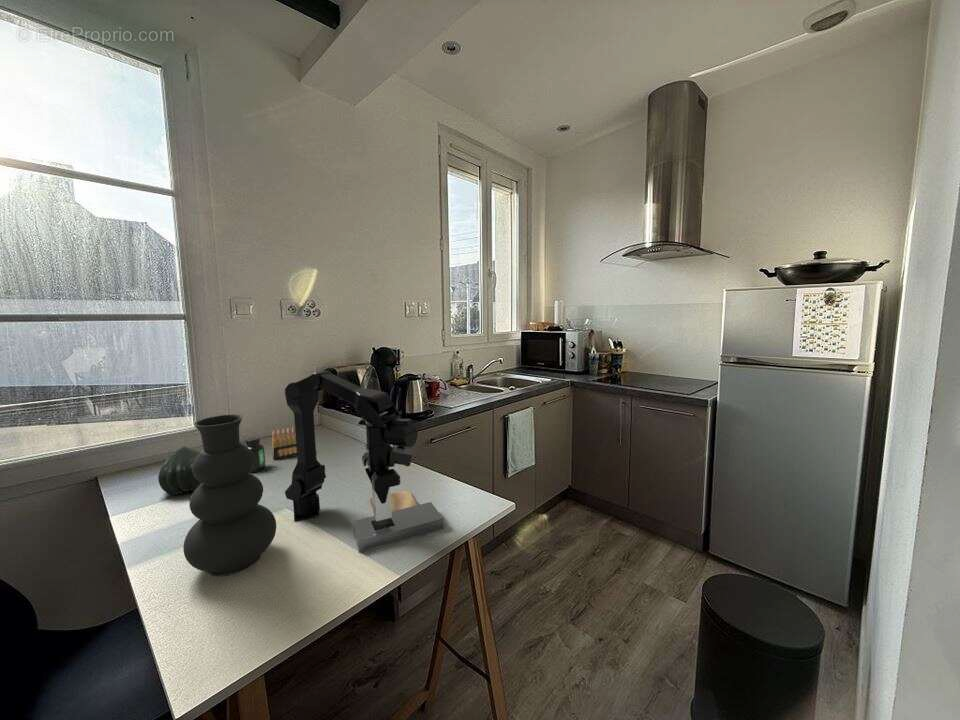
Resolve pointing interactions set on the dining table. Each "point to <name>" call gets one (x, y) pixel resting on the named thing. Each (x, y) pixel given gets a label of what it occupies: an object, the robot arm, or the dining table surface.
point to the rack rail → (397, 526)
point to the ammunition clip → (284, 445)
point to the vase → (226, 502)
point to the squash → (179, 472)
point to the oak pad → (400, 500)
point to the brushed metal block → (381, 506)
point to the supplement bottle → (256, 453)
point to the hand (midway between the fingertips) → (381, 499)
